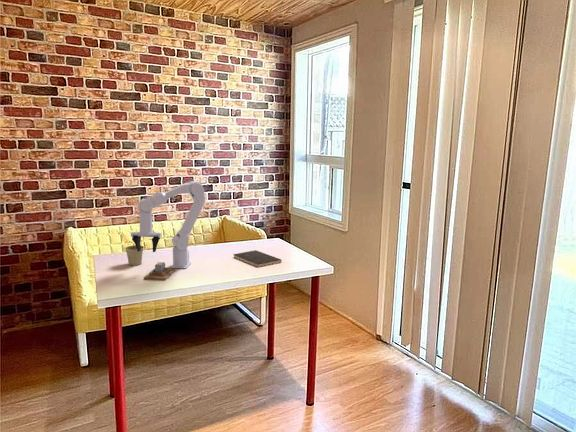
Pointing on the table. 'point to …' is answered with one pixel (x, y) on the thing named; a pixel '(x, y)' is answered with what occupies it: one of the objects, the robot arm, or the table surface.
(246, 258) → the hardcover book
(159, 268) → the servo block
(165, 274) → the chassis board
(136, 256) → the flower pot
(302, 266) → the table surface
